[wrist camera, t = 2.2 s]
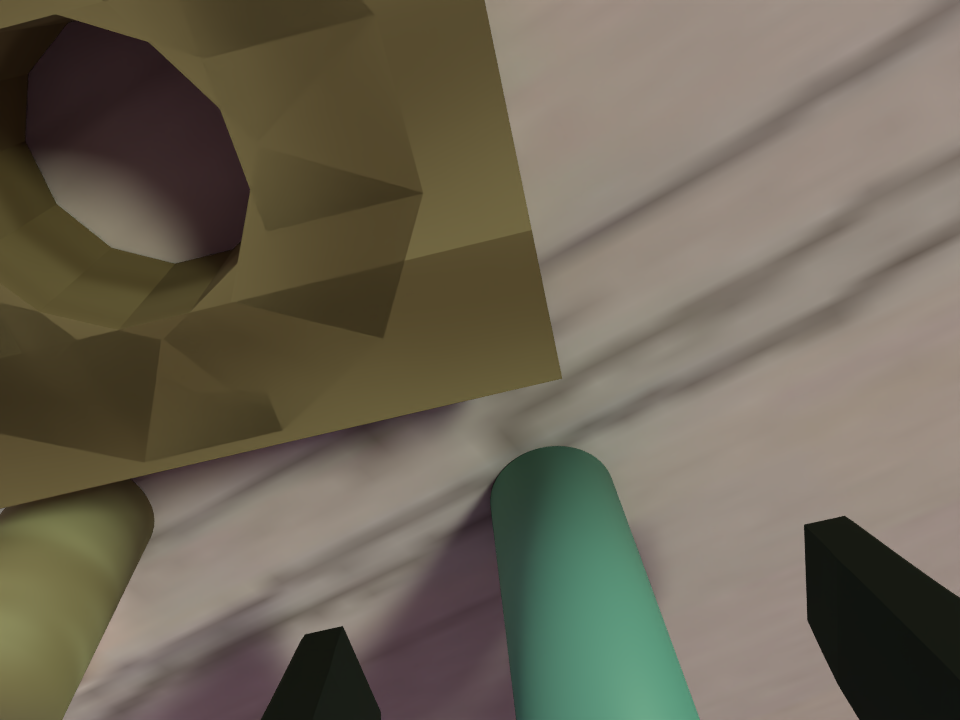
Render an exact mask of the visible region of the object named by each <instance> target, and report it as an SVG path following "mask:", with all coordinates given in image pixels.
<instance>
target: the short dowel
mask: <svg viewBox="0 0 960 720" xmlns="http://www.w3.org/2000/svg"><path fill="white" fill-rule="evenodd" d="M153 528H154V513H153V510H152V507H151V504H150V502H149V500H148V498H147V497H146V495H145V494H144V493H143V491H142V490H141V489H140V488H139V487H138V486H137V485H136V484H135V483H134V482H133V481H132V480H130V479H126V480H122V481H118V482H113V483H109V484H105V485H100V486H96V487H92V488H87V489H83V490H79V491H74V492H70V493H66V494H62V495H57V496H53V497H49V498H44V499H40V500H36V501H31V502H27V503H23V504H18V505H14V506H10V507H6V508H5V509H4V510H3V511H2V513H1V514H0V720H62V719H63V717H64V715H65V713H66V711H67V709H68V706H69V704H70V702H71V700H72V698H73V696H74V694H75V692H76V690H77V688H78V686H79V684H80V682H81V680H82V678H83V676H84V673H85V671H86V669H87V667H88V665H89V663H90V661H91V659H92V657H93V655H94V653H95V651H96V649H97V647H98V645H99V643H100V641H101V638H102V636H103V634H104V632H105V630H106V628H107V626H108V624H109V622H110V620H111V618H112V616H113V614H114V612H115V610H116V608H117V605H118V603H119V601H120V599H121V597H122V595H123V593H124V591H125V589H126V587H127V585H128V583H129V581H130V579H131V577H132V575H133V572H134V570H135V568H136V566H137V564H138V562H139V560H140V558H141V556H142V554H143V552H144V550H145V548H146V546H147V544H148V542H149V540H150V537H151V535H152V533H153Z"/></svg>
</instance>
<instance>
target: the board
mask: <svg viewBox="0 0 960 720" xmlns="http://www.w3.org/2000/svg"><path fill="white" fill-rule="evenodd" d="M75 20H77V21H80V22H83V23H87V24H90V25H93V26H97V27H100V28H103V29H107V30H110V31H113V32H117V33H120V34H123V35H127V36H130V37H133V38H137V39H140V40H143V41H147V42H149V43H150V44H151V45H152V46H153V47H154V48H156V49H157V50H158V51H159V52H160V53H161V54H162V55H163V56H164V57H165V58H166V59H167V60H168V61H169V62H171V63H172V64H173V65H174V66H175V67H176V68H177V69H178V70H179V71H180V72H181V73H182V74H183V75H184V76H185V77H187V78H188V79H189V80H190V81H191V82H192V83H193V84H194V85H195V86H196V87H197V88H198V89H199V90H200V91H202V92H203V93H204V94H205V95H206V96H207V97H208V98H209V99H210V100H211V101H212V102H213V103H214V104H215V105H217V106H218V107H219V108H220V110H221V113H222V116H223V118H224V121H225V124H226V126H227V129H228V132H229V134H230V137H231V140H232V142H233V145H234V148H235V150H236V153H237V156H238V158H239V161H240V164H241V166H242V169H243V172H244V174H245V177H246V180H247V182H248V185H249V188H250V195H249V201H248V206H247V212H246V218H245V224H244V229H243V235H242V241H241V242H240V243H239V244H238V245H237V246H236V247H235V248H234V249H233V250H229V251H225V252H221V253H217V254H213V255H209V256H205V257H201V258H197V259H193V260H189V261H185V262H180V263H176V264H173V263H169V262H165V261H161V260H157V259H153V258H149V257H145V256H141V255H137V254H133V253H129V252H125V251H121V250H117V249H113V248H111V247H110V246H108V245H107V244H106V243H104V242H103V241H102V240H101V239H99V238H98V237H97V236H96V235H94V234H93V233H92V232H91V231H89V230H88V229H87V228H86V227H84V226H83V225H82V224H81V223H79V222H78V221H77V220H76V219H74V218H73V217H72V216H71V215H69V214H68V213H67V212H66V211H64V210H63V209H62V208H61V207H59V206H58V205H57V204H56V202H55V200H54V198H53V196H52V194H51V192H50V190H49V188H48V186H47V184H46V182H45V180H44V178H43V176H42V174H41V172H40V170H39V168H38V166H37V164H36V162H35V160H34V158H33V156H32V154H31V152H30V150H29V148H28V146H27V144H26V142H25V129H26V105H27V81H28V73H29V72H30V70H31V69H32V68H33V67H34V65H35V64H36V63H37V61H38V60H39V59H40V58H41V56H42V55H43V54H44V52H45V51H46V50H47V49H48V47H49V46H50V45H51V43H52V42H53V41H54V40H55V38H56V37H57V36H58V35H59V33H60V32H61V31H62V29H63V28H64V27H65V26H66V24H67V23H68V22H72V21H75ZM558 379H562V376H561V371H560V366H559V361H558V356H557V351H556V346H555V341H554V337H553V332H552V327H551V322H550V317H549V312H548V307H547V303H546V298H545V293H544V288H543V283H542V278H541V273H540V269H539V264H538V259H537V254H536V249H535V244H534V239H533V235H532V230H531V225H530V220H529V215H528V210H527V205H526V200H525V196H524V191H523V186H522V181H521V176H520V171H519V166H518V162H517V157H516V152H515V147H514V142H513V137H512V132H511V128H510V123H509V118H508V113H507V108H506V103H505V98H504V94H503V89H502V84H501V79H500V74H499V69H498V64H497V60H496V55H495V50H494V45H493V40H492V35H491V30H490V25H489V21H488V16H487V11H486V6H485V1H484V0H0V509H1V508H5V507H10V506H14V505H18V504H23V503H27V502H31V501H36V500H40V499H44V498H49V497H53V496H57V495H62V494H66V493H70V492H74V491H79V490H83V489H87V488H92V487H96V486H100V485H105V484H109V483H113V482H118V481H122V480H126V479H131V478H135V477H139V476H144V475H148V474H152V473H156V472H161V471H165V470H169V469H174V468H178V467H182V466H187V465H191V464H195V463H200V462H204V461H208V460H213V459H217V458H221V457H225V456H230V455H234V454H238V453H243V452H247V451H251V450H256V449H260V448H264V447H269V446H273V445H277V444H282V443H286V442H290V441H294V440H299V439H303V438H307V437H312V436H316V435H320V434H325V433H329V432H333V431H338V430H342V429H346V428H351V427H355V426H359V425H364V424H368V423H372V422H376V421H381V420H385V419H389V418H394V417H398V416H402V415H407V414H411V413H415V412H420V411H424V410H428V409H433V408H437V407H441V406H445V405H450V404H454V403H458V402H463V401H467V400H471V399H476V398H480V397H484V396H489V395H493V394H497V393H502V392H506V391H510V390H514V389H519V388H523V387H527V386H532V385H536V384H540V383H545V382H549V381H553V380H558Z"/></svg>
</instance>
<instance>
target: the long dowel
mask: <svg viewBox="0 0 960 720" xmlns="http://www.w3.org/2000/svg"><path fill="white" fill-rule="evenodd" d="M490 505H491V514H492V522H493V530H494V539H495V547H496V555H497V564H498V572H499V580H500V589H501V597H502V605H503V614H504V622H505V630H506V639H507V647H508V655H509V663H510V672H511V680H512V688H513V697H514V705H515V713H516V720H700V719H699V716H698V713H697V711H696V708H695V705H694V702H693V700H692V697H691V694H690V692H689V689H688V686H687V683H686V681H685V678H684V675H683V672H682V670H681V667H680V664H679V661H678V659H677V656H676V653H675V650H674V648H673V645H672V642H671V640H670V637H669V634H668V631H667V629H666V626H665V623H664V620H663V618H662V615H661V612H660V609H659V607H658V604H657V601H656V598H655V596H654V593H653V590H652V588H651V585H650V582H649V579H648V577H647V574H646V571H645V568H644V566H643V563H642V560H641V557H640V555H639V552H638V549H637V547H636V544H635V541H634V538H633V536H632V533H631V530H630V527H629V525H628V522H627V519H626V516H625V514H624V511H623V508H622V505H621V503H620V500H619V497H618V495H617V492H616V489H615V486H614V484H613V481H612V478H611V476H610V474H609V472H608V470H607V469H606V467H605V466H604V465H603V464H602V463H601V462H600V461H599V460H598V459H597V458H595V457H594V456H592V455H591V454H589V453H587V452H585V451H582V450H579V449H576V448H571V447H565V446H551V447H544V448H539V449H536V450H532V451H530V452H527V453H525V454H523V455H521V456H519V457H517V458H516V459H515V460H513V461H512V462H511V463H509V464H508V465H507V466H506V467H505V468H504V469H503V470H502V472H501V473H500V474H499V476H498V477H497V479H496V481H495V483H494V485H493V488H492V491H491V498H490Z"/></svg>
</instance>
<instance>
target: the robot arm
mask: <svg viewBox="0 0 960 720" xmlns="http://www.w3.org/2000/svg"><path fill="white" fill-rule="evenodd" d="M804 536H805V564H806V592H807V620H808V623H809V625H810V627H811V629H812V631H813V633H814V636H815V638H816V640H817V642H818V644H819V646H820V648H821V651H822V653H823V655H824V657H825V659H826V661H827V663H828V665H829V667H830V669H831V671H832V673H833V675H834V677H835V679H836V682H837V684H838V685H839V687H840V689H841V690H842V692H843V694H844V695H845V697H846V699H847V700H848V702H849V704H850V705H851V707H852V708H853V710H854V712H855V713H856V715H857V717H858V718H859V720H960V598H959V597H958V596H956V595H955V594H953V593H952V592H950V591H949V590H948V589H946V588H945V587H943V586H942V585H940V584H939V583H937V582H936V581H935V580H933V579H932V578H930V577H929V576H927V575H926V574H925V573H923V572H922V571H920V570H919V569H918V568H916V567H915V566H913V565H912V564H911V563H909V562H908V561H906V560H905V559H904V558H902V557H901V556H900V555H898V554H897V553H895V552H894V551H893V550H891V549H890V548H889V547H887V546H886V545H884V544H883V543H882V542H880V541H879V540H878V539H876V538H875V537H874V536H872V535H871V534H869V533H868V532H867V531H865V530H864V529H863V528H861V527H860V526H859V525H857V524H856V523H854V522H853V521H852V520H850V519H849V518H847V517H845V516H842V517H837V518H833V519H828V520H824V521H819V522H815V523H810V524H805V525H804ZM261 720H381V712H380V709H379V707H378V705H377V702H376V700H375V698H374V696H373V693H372V691H371V689H370V687H369V684H368V682H367V680H366V677H365V675H364V673H363V671H362V668H361V666H360V664H359V662H358V659H357V657H356V655H355V653H354V650H353V648H352V646H351V643H350V641H349V639H348V637H347V634H346V632H345V630H344V628H343V626H341V627H337V628H332V629H328V630H323V631H319V632H314V633H310V634H305V636H304V637H303V639H302V640H301V642H300V644H299V646H298V647H297V649H296V651H295V653H294V655H293V657H292V659H291V661H290V663H289V665H288V667H287V669H286V671H285V673H284V675H283V677H282V679H281V681H280V683H279V685H278V687H277V689H276V691H275V693H274V695H273V697H272V699H271V701H270V703H269V705H268V707H267V709H266V711H265V713H264V714H263V716H262V718H261Z"/></svg>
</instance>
